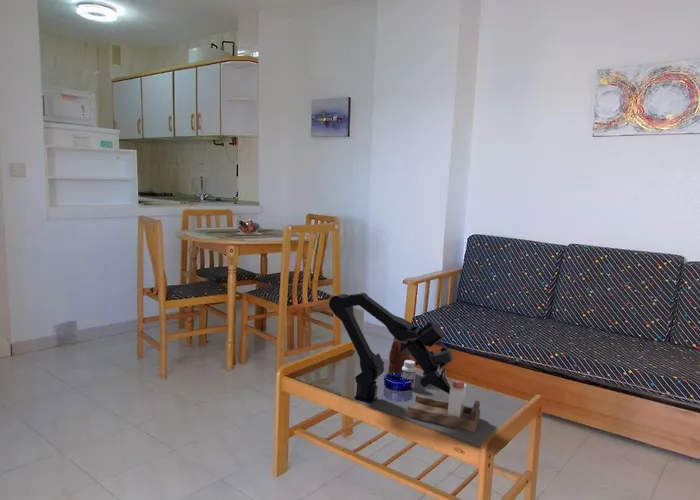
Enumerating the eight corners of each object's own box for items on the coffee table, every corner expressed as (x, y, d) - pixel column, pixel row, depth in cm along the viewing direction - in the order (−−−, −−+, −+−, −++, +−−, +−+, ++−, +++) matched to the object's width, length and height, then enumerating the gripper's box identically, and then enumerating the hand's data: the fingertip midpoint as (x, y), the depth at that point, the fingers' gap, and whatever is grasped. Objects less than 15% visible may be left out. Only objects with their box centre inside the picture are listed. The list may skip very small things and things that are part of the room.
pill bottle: (403, 382, 199) (405, 358, 198) (416, 385, 197) (418, 361, 196) (398, 386, 194) (400, 361, 193) (411, 390, 192) (413, 365, 191)
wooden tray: (406, 416, 168) (408, 398, 167) (415, 403, 179) (417, 386, 179) (474, 432, 160) (476, 413, 160) (479, 418, 171) (481, 400, 171)
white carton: (446, 419, 165) (450, 385, 164) (451, 409, 173) (454, 377, 172) (459, 421, 164) (462, 388, 163) (463, 412, 171) (466, 380, 170)
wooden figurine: (396, 368, 215) (400, 327, 213) (410, 372, 212) (414, 330, 210) (384, 376, 205) (388, 332, 203) (399, 380, 202) (403, 335, 200)
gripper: (433, 347, 160) (465, 388, 157) (444, 334, 177) (473, 371, 174) (407, 367, 163) (437, 407, 161) (420, 352, 181) (448, 388, 178)
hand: (450, 392), depth 168 cm, fingers closed, pressing on white carton
